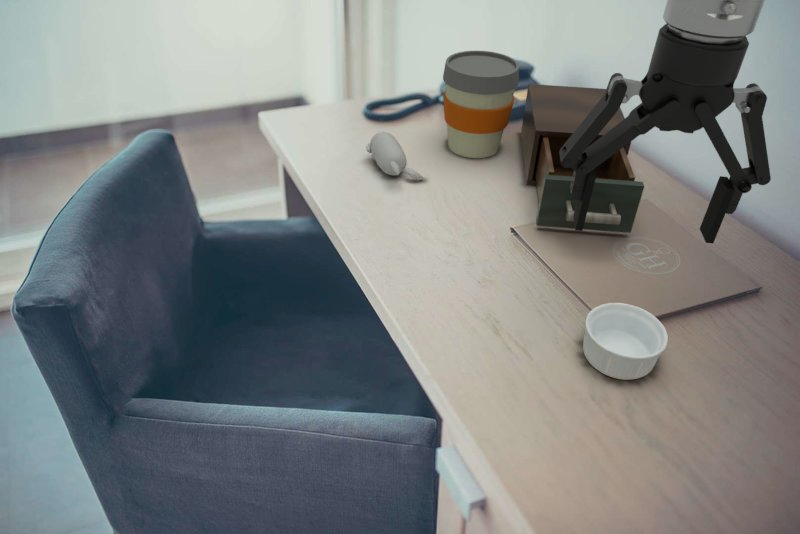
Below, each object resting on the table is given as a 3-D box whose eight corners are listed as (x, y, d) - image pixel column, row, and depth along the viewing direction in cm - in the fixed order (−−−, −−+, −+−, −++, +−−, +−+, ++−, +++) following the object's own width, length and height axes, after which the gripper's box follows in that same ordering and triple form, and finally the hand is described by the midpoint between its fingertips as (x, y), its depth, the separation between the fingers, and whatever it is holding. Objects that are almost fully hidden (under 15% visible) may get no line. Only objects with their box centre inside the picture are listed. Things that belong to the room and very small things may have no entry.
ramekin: (659, 392, 70) (670, 364, 67) (576, 375, 71) (584, 347, 69) (655, 337, 76) (665, 310, 74) (579, 323, 78) (587, 296, 75)
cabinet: (617, 191, 103) (632, 136, 97) (526, 184, 104) (535, 130, 98) (600, 139, 118) (612, 89, 112) (520, 133, 119) (528, 83, 113)
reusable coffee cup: (522, 146, 115) (536, 64, 105) (479, 170, 107) (489, 84, 98) (467, 124, 121) (475, 44, 112) (423, 145, 114) (428, 62, 105)
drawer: (636, 250, 89) (651, 202, 84) (538, 242, 90) (548, 194, 85) (611, 173, 106) (622, 129, 101) (529, 167, 107) (536, 123, 102)
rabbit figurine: (357, 139, 107) (381, 183, 100) (381, 119, 106) (406, 162, 99) (378, 158, 112) (402, 202, 105) (401, 139, 111) (427, 182, 103)
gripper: (565, 32, 54) (526, 238, 67) (874, 55, 52) (772, 262, 65) (558, 7, 60) (524, 200, 73) (836, 27, 58) (750, 221, 71)
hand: (641, 230), depth 69 cm, fingers open, 13 cm apart
